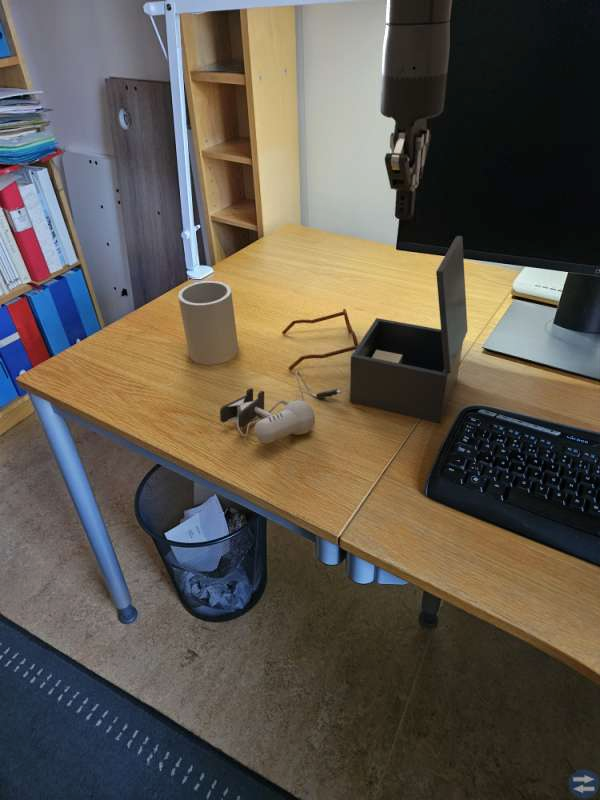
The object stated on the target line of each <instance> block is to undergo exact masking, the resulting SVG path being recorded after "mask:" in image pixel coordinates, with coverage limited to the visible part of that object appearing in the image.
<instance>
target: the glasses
mask: <svg viewBox="0 0 600 800" xmlns="http://www.w3.org/2000/svg"><path fill="white" fill-rule="evenodd" d="M342 316H343V319H344V321H345V325H346V329H347V333H348V335H351V338H352V341H353V345H352V346H350V347H344V348H341V349H337V350H333V351H329V352H327V353H322V354H307V355H301V356H300V357H298V359H296V360H295V361H294V362H293V363H292V364H291V365H290V366H288V367H287V368H288V370H289V371H292V370H294V368H296V367H297V366H298V365H299V364H301V363H302V362H303V361H304V360H309V359H326V358H330V357H333V356H337V355H341V354H345V353H349V352H353V351H355V349H356V348H357V346H358V345H359V342H358V338H357V335H356V332H355V331H354V330H353V328H352V325H351V322H350V318H349V315H348V313H347V310H346V308H343V309H342V311H340V312H335V313H332V314H329V315H325V316H321V317H316V318H313V319H297V320H292V321H291V322H290V324H288V325H287V326H286V327H285V328H284V329H283V330H282V331H281V334H283V335H286V334H287V333H288V331H289V330H290V329H291V328H293V327H294V326H295V325H296V324H316V323H319V322H323V321H327V320H330V319H334V318H339V317H342Z"/></svg>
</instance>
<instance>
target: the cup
mask: <svg viewBox="0 0 600 800" xmlns="http://www.w3.org/2000/svg"><path fill="white" fill-rule="evenodd" d="M232 293H233V292H232V288H231V286H230V285H228V284H227V283H225V282H222V281H217V280H204V281H202V280H201V281H197V282H193V283H190V284H188V285H186V286H184V287H183V288H181V289H180V290H179V292H178V293H177V299H178V304H179V308H180V315H181V321H182V325H183V330H184V336H185V341H186V347H187V351H188V356H189V359H190V360H191V361H193V362H194V363H195V364H198V365H203V366H215V365H216V366H217V365H221V364H224V363H227V362H229V361H231V360H232V359H234V358H235V357H236V356H237V355H238V353H239V343H238V334H237V325H236V317H235V308H234V302H233V295H232Z"/></svg>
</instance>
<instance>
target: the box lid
mask: <svg viewBox="0 0 600 800" xmlns="http://www.w3.org/2000/svg"><path fill="white" fill-rule="evenodd" d="M464 259H465V258H464V243H463V236H462V235H457V236H455V238H454V240H453V241H452V243H451V245H450V247H449V248H448V250H447V252H446V254H445V255H444V257H443V259H442V261H441V262H440V264H439V266H438V268H437V269H436V271H435V274H436V276H435V277H436V286H437V297H438V298H437V299H438V309H439V322H440V329H441V335H442V347H443V358H444V370H445V373H451V371H452V368H453V366H454V363H455V361H456V358H457V356H458V353H459V351H460V348H461V346H462V343H463V344H464V341H465V338H466V336H467V334H468V314H467V313H468V312H467V296H466V295H467V294H466V278H465V263H464V262H465V261H464ZM462 347H463V346H462Z"/></svg>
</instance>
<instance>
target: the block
mask: <svg viewBox="0 0 600 800" xmlns="http://www.w3.org/2000/svg"><path fill="white" fill-rule="evenodd" d="M402 357H403V355H401V354H396V353H391V352H385V351H380V350H376V351H375V353H374V355H373V356H372V358H375V359H380V360H385V361H390V362H395V363H400V364H402Z"/></svg>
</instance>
